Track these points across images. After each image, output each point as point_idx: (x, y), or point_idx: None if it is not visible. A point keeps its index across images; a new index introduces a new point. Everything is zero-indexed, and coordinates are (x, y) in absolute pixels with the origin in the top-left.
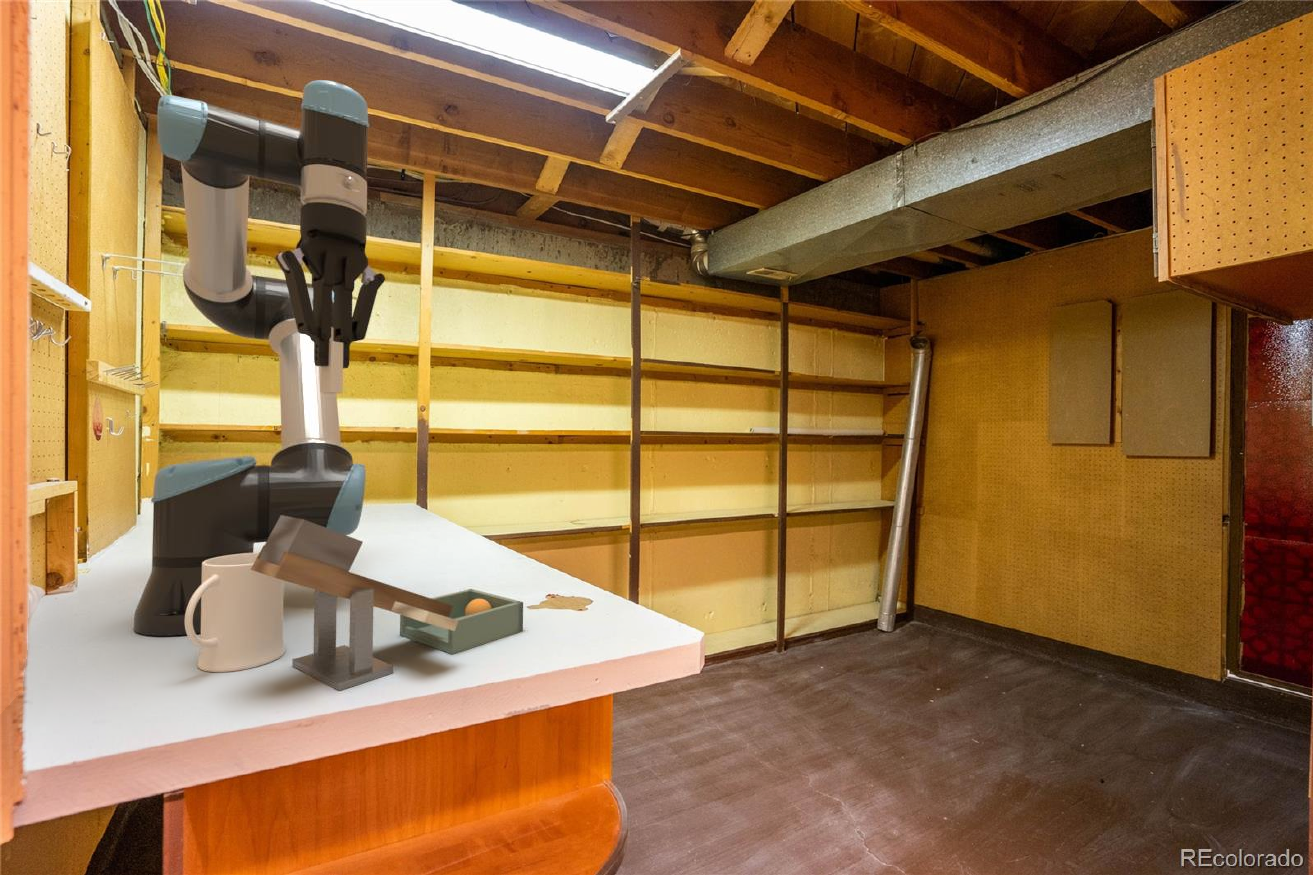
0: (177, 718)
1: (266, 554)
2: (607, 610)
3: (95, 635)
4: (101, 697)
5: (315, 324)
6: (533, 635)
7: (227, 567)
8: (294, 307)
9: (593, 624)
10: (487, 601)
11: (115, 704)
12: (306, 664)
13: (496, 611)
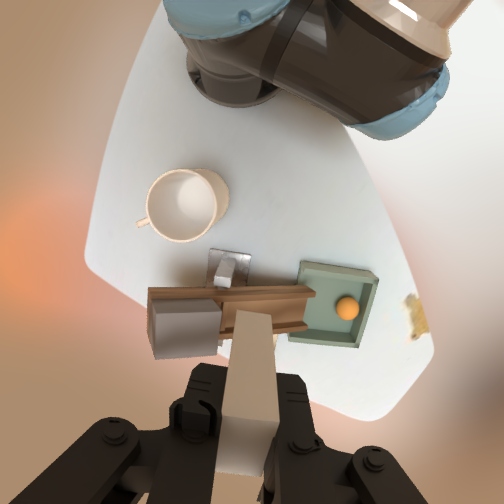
0: (133, 267)
1: (149, 308)
2: (417, 353)
3: (173, 41)
4: (121, 193)
5: (137, 500)
6: (346, 348)
7: (154, 229)
8: (33, 501)
9: (383, 365)
10: (355, 316)
11: (121, 213)
12: (209, 268)
13: (330, 345)
